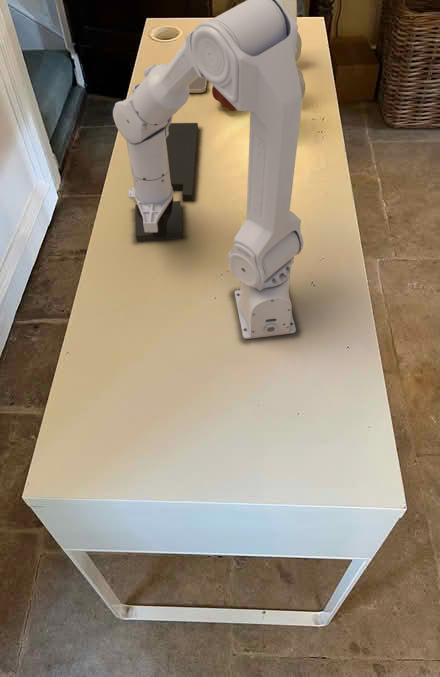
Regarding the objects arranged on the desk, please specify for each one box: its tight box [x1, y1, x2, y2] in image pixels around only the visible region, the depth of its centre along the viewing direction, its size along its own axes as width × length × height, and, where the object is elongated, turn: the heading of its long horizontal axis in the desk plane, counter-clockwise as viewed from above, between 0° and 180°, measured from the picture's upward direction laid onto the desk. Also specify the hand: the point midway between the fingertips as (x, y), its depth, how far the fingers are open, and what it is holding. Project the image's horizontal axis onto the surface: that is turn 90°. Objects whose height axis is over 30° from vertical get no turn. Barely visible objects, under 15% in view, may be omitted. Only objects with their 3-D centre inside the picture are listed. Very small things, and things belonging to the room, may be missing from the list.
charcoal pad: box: [134, 200, 184, 243], centre depth 106 cm, size 11×8×2 cm
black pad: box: [166, 122, 199, 202], centre depth 115 cm, size 22×10×2 cm, turn 179°
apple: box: [211, 85, 238, 111], centre depth 123 cm, size 7×8×8 cm
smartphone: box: [189, 77, 208, 94], centre depth 134 cm, size 7×1×15 cm
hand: (159, 234), depth 103 cm, fingers closed, pressing on charcoal pad
